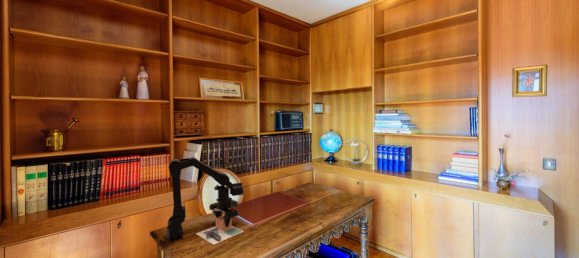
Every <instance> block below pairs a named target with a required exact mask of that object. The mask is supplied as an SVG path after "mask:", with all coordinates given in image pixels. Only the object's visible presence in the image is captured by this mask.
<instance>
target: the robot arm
mask: <svg viewBox="0 0 579 258" xmlns="http://www.w3.org/2000/svg"><path fill="white" fill-rule="evenodd" d="M190 167H194V168H196V169H197V170H199V171H200V172H203V173H204V174H206V175H208V176H209V177H211V178H212V179H213V180H215V182H216V183H218V184H216V185H215V186H214V188H213V189H214V191H217V198H216V202H214V203H210V204H209V210H210V211H212V213H213V215H214V216H215V219H216V218H217V217H220V216H223V213H224V215H225V216H223V218H224V222H225V225H226V227H228V226H229V223H230V220H231V218H235V217H237V216H239V210H238V209H235V208H237V207H238V204H239V201H237V200H234V199H233V197H237V196H243V195H244V188H243V182H240V181H239V182H236V183H235V182H234V183H232V182H231V180H230V176H228V174H227V173H226V172H222V171H220V170H216V169H214V168H213V167H212V166H209V165H207V164H205V162H202V161H201V160H199V159H197V158H196V157H194V156H191V157H186V158H180V159H178V158H173V159H171V160H170V161H169V163H168V170H169V174H170V177H171V184H172V186H171V187H172V198H173V199H172V200H173V208H172V213H171V216H170V217H169V218H168V219H167V226H166V236H165V239H166V240H168V241H169V242H170V243H172V242H175V241H177V240H180V239H182V238H184V237H183V234H184V233H183V231H184V229H183V226H182V225H183V223H184V222H185V219H186V218H187V212H186V211H187V209H186V205H183V204H182V192H181V191H182V189H181V173H182V170H185V169H187V168H190ZM230 195H231V197H230Z"/></svg>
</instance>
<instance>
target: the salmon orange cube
mask: <svg viewBox="0 0 579 258" xmlns="http://www.w3.org/2000/svg"><path fill="white" fill-rule="evenodd" d="M223 216H225V214H222V216H220V217H217V218H216V217H215V226H216V228H218V229H220V230H225V229H227V228H230V227H232V226H233V225H232V224H233V223H232V218H233V217H232V218H231V220H230V223H229V226H228V227H226V225H225V222H224V218H223Z"/></svg>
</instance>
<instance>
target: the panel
mask: <svg viewBox="0 0 579 258" xmlns="http://www.w3.org/2000/svg"><path fill="white" fill-rule="evenodd" d="M215 228H216V225H215V226H212V227H210V228H207V229H204V230H202V231H199V232H197V233H195V234H196V235H197V236H199V237H200V238H202V239H204V240H205V241H207V242H208V243H210V244H211V245H216V244H219V243H221V242H223V241H225V240H227V239H230V238H232V237H234V236H236V235H238V234H242V233H244V230H242V229H240V228H238V227H235V226H233V225H232V227H230V228H227V229H225V230H220V229H218V235H219V236H221V239H220V240H218V239H217V238H215V237H211V238H209V239H207V238H206V232H207V231H210V230H212V229H215Z"/></svg>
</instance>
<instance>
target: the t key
mask: <svg viewBox="0 0 579 258" xmlns="http://www.w3.org/2000/svg"><path fill="white" fill-rule="evenodd" d="M211 237H215V238H217V239H218V240H220V239H221V236H219V235H218V228H215V229H212V230H210V231H207V232H206V238H207V239H209V238H211Z"/></svg>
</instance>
